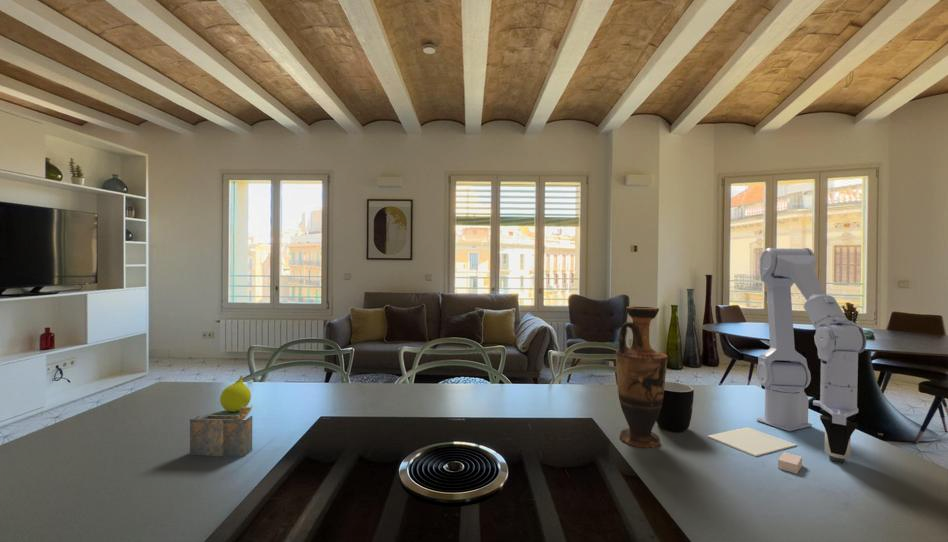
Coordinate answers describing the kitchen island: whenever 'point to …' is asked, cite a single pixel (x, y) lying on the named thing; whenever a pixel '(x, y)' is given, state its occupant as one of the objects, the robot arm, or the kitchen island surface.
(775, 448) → the paper
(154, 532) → the kitchen island surface
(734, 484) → the kitchen island surface
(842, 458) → the white and green cylinder
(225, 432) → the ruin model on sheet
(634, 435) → the vase
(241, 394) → the yellow rounded piece
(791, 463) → the eraser
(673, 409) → the mug
